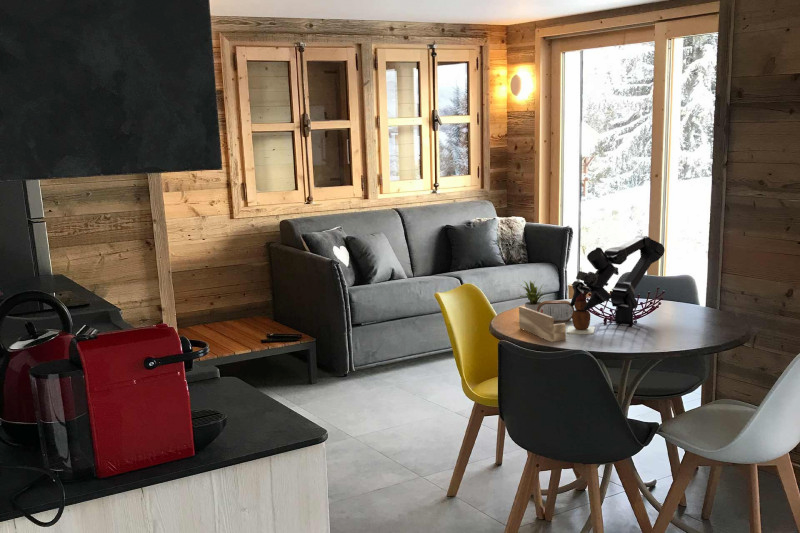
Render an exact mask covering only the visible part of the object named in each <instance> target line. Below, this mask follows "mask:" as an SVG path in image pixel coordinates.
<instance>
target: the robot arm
mask: <svg viewBox="0 0 800 533" xmlns="http://www.w3.org/2000/svg"><path fill="white" fill-rule="evenodd" d="M637 251H639V252H640V258H638V260H637V262H636V263H635V265H634V266H633V268H632V269H631V271H630V272H629V274H628V275H627V277H626V278H625V279H624V281H623V282H616V283H615V285H614V286H613V288H611V292H610V293H609V292H608V291H607V290H606V289H605V286H606V287H608V286H609V283H608V282H609V280H611V278H612V276H613V275H617V276H618V275H619V267H616V266H614V265H622V264H624V263H625V262H626V260H627V259H628V257H629V256H630V255H632V254H634V253H636V252H637ZM665 251H666V250H665V246H664V245H663V244H662V243H661V242H658V241H657V240H654V239H652V238H651V237H649V236H647V235H636V236H635V237H634V238H633V239H630V240H629V241H627V242H626V243H624V244H622V245H620V246H617V247H616V246H615V247H609V248H607V249H605V250H603V249H602V247H598V246H596V247H595V249H592V250H591V251H590V252H589V253H588V254H587V255H586V259H587V261H588V262H589V263H590V264H591V266H592V267H593V268H594V269H595V270H596V271H595V272H593V271H588V272H585V271H581V270H578V273H577V275H576V277H575V278H576V280H574V281H573V283H572V284H571V286H572V289H573V295H572V297H571V302H570V303H571V304H570V305H571V306H573V307H575V306H574V304H575V302H576V298H577V297H578V298H579V295H580V298H581V292H582V294H583V297H584V293H585V291H586V296H587V295H588V294H590V297H589V299H588V300H587V301H586V302H587V304H586V305H585V307H584V310H585V311H586V310H588V311H589V310H591V309H592V308H594V307H596V306H599V305H601V304H604V303H606V302H607V303H608V302H609V301H611V305H612V307H613V308H616V309H615V310H614V322H616V323H615V324H623V325H627V324H628V325H633V324H634V310H635V309H636V308H638V305H639V301H638V300H637V299H636V298H635V296H636V292H635V290H636V288H637V286H638V285H639V284H640V282H641V280H642V279H643V277H644V275H645V274H646V273H647V272H648V270H649V268H650V266H651V265H652V264H654V263H655V262H657V261H659V260H660V259H661V258H662V257H663V256H664V254H665Z"/></svg>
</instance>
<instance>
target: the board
mask: <svg viewBox="0 0 800 533" xmlns="http://www.w3.org/2000/svg"><path fill="white" fill-rule="evenodd" d="M595 331H596V327H595V326H589V327H588V329H586V330H577V329H575V327H574V325H568V328H567V331H566V335H568V334H571V335H572V334H573V335H594V334H595Z"/></svg>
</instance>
